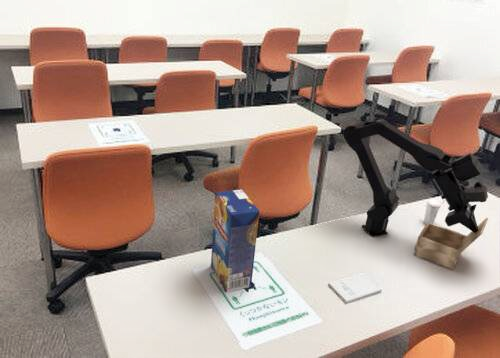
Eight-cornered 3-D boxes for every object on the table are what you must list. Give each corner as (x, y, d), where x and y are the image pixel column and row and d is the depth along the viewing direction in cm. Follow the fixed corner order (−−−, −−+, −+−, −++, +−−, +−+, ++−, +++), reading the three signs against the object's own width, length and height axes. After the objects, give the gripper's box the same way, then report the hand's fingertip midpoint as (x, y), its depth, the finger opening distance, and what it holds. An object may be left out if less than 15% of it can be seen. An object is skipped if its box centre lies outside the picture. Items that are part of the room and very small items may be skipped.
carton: (412, 255, 145) (418, 236, 142) (422, 239, 154) (427, 221, 151) (452, 271, 140) (459, 252, 136) (460, 253, 148) (467, 235, 145)
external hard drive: (380, 293, 128) (345, 305, 122) (361, 276, 134) (327, 286, 129) (382, 289, 127) (346, 300, 122) (362, 271, 134) (328, 282, 128)
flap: (480, 232, 131) (482, 233, 131) (486, 217, 140) (488, 218, 140) (459, 251, 137) (461, 252, 137) (466, 236, 145) (468, 237, 145)
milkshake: (438, 228, 162) (445, 203, 157) (422, 225, 163) (429, 200, 158) (436, 221, 166) (443, 197, 161) (420, 218, 167) (427, 194, 162)
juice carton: (251, 287, 125) (259, 211, 114) (225, 292, 122) (231, 215, 111) (234, 261, 135) (241, 188, 124) (210, 265, 132) (215, 192, 121)
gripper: (469, 187, 125) (499, 236, 125) (481, 166, 140) (508, 210, 139) (432, 202, 132) (460, 249, 132) (447, 180, 147) (472, 223, 147)
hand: (476, 232), depth 137 cm, fingers closed, pressing on flap
